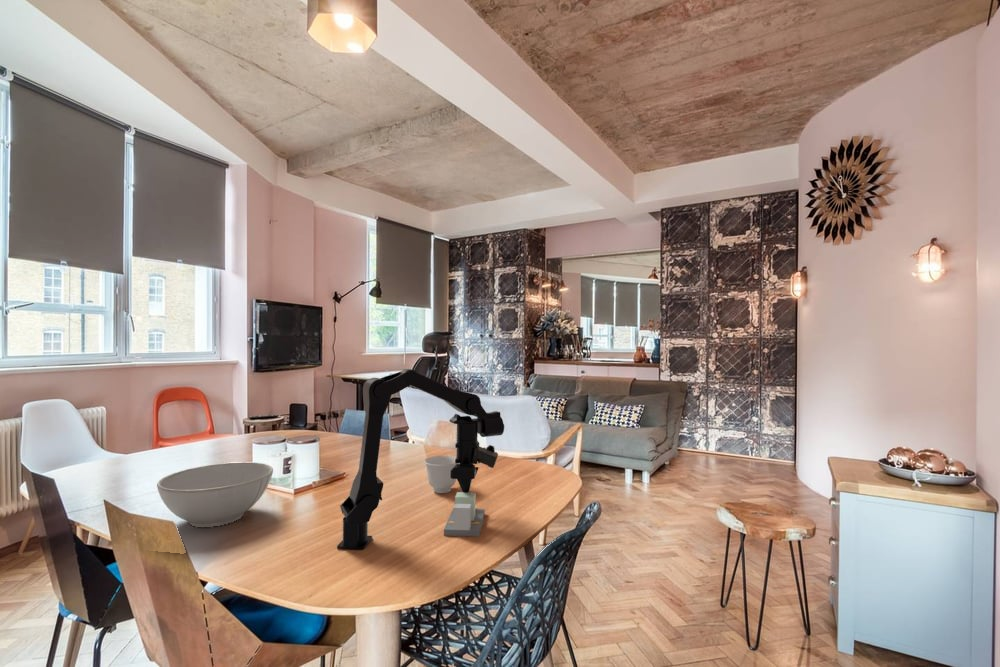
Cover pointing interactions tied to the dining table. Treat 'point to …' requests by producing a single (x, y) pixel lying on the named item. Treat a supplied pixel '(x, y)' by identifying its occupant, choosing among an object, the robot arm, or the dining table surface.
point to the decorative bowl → (214, 491)
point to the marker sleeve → (467, 501)
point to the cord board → (465, 533)
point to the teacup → (440, 472)
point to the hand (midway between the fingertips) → (466, 495)
